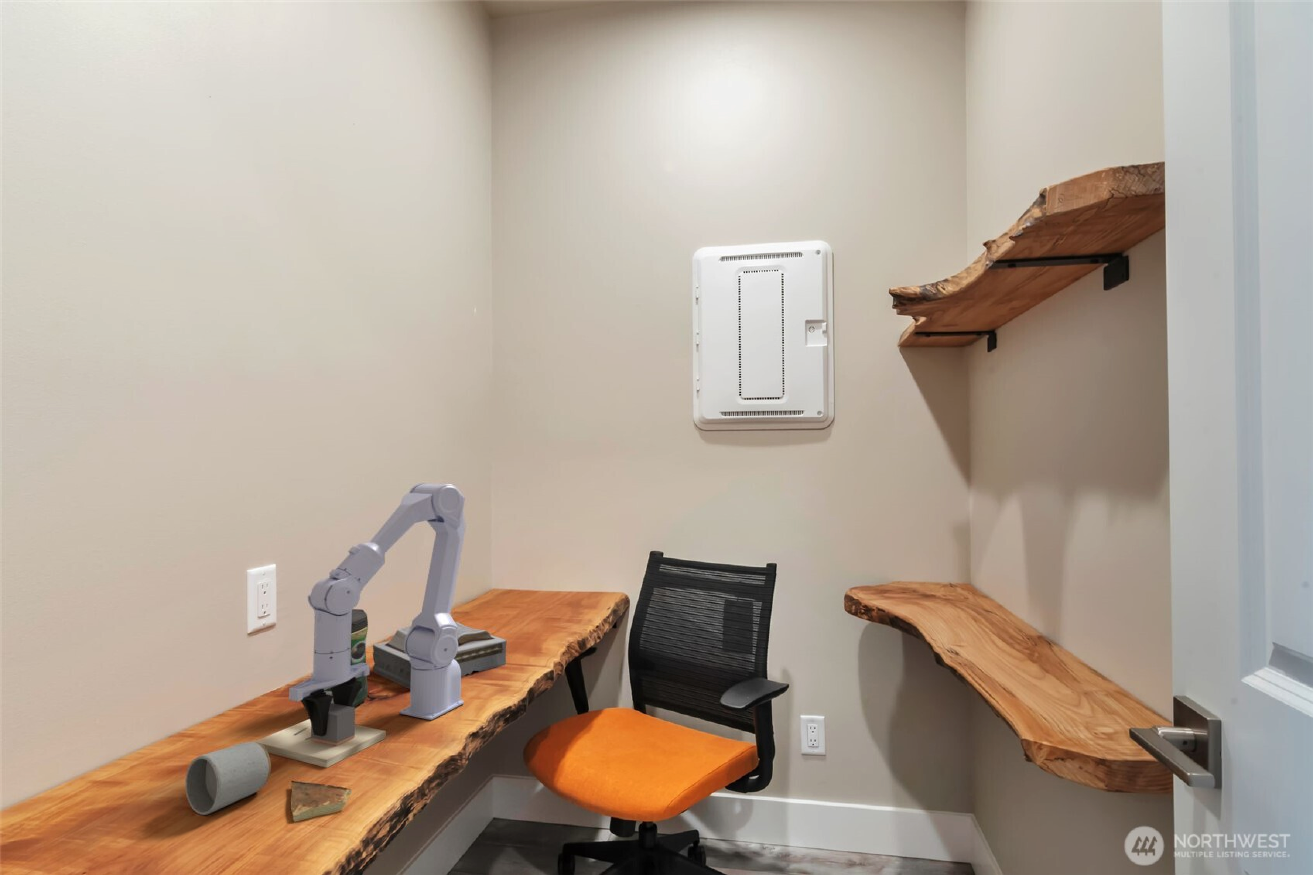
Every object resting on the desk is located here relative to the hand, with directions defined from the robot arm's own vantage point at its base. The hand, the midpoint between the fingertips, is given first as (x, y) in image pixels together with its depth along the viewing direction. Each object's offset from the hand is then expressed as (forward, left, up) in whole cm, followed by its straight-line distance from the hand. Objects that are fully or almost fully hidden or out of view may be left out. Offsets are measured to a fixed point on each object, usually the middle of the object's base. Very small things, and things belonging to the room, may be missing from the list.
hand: (330, 729), depth 109 cm
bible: (-41, -12, -3) cm, 43 cm away
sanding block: (0, +1, -1) cm, 2 cm away
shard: (+15, +13, -3) cm, 20 cm away
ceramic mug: (+19, +1, -3) cm, 19 cm away
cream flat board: (0, -2, -3) cm, 3 cm away
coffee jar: (-14, -14, -3) cm, 20 cm away
